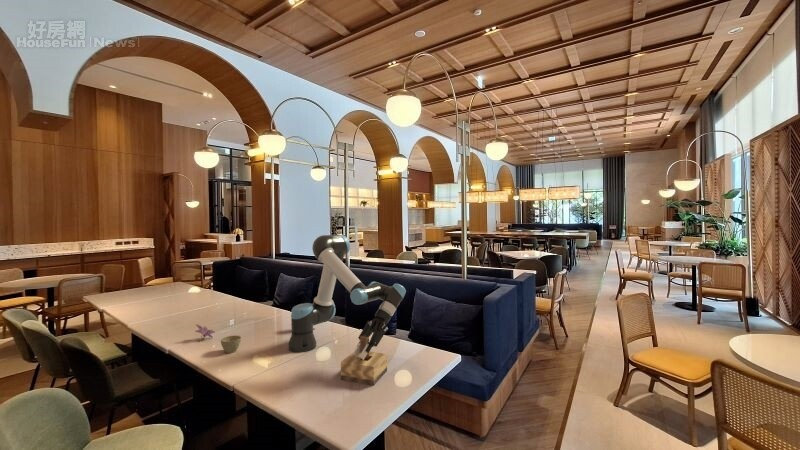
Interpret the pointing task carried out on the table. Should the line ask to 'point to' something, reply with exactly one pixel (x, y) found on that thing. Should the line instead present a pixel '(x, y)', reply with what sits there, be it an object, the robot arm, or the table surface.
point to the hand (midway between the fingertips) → (358, 356)
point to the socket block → (364, 368)
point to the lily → (204, 331)
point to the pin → (363, 342)
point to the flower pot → (230, 343)
